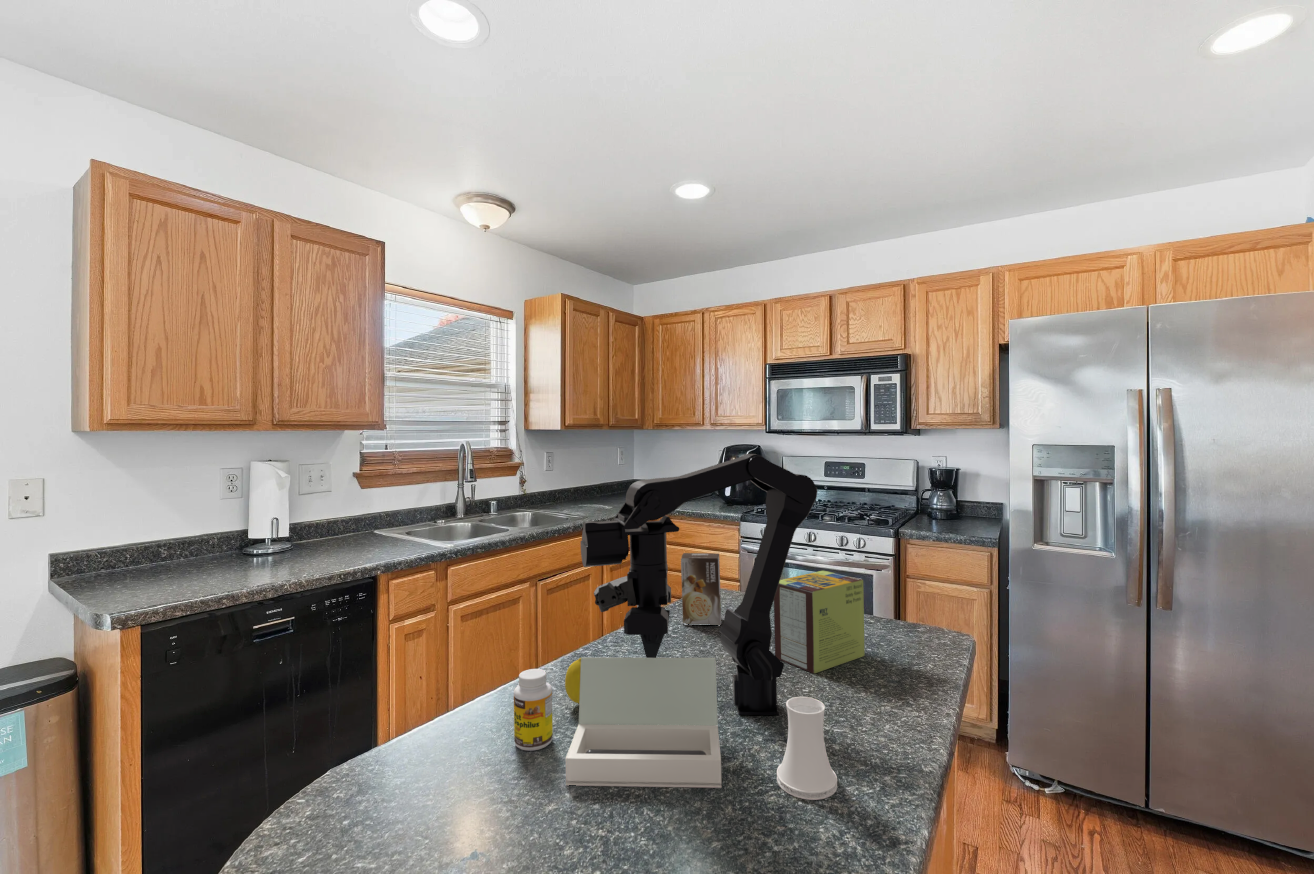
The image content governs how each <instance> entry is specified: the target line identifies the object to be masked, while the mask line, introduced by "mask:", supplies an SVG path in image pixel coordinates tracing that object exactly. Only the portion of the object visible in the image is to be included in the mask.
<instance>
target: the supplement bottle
mask: <svg viewBox="0 0 1314 874" xmlns="http://www.w3.org/2000/svg"><path fill="white" fill-rule="evenodd" d="M547 679H548V678H547V671H545V670H544V669H541V668H530V669H526V670H523V671H521V672H520V673H519V674H518V684H517V686H516V687H515V688H514V690H513V727H514V728H513V730H514V731H513V735H514V736H513V738H514V739H513V740H514V741H513V742H514V745H515V746H516V747H517V748H518V749H519V750H522V751H529V752H530V751H531V752H532V751H538V750H542V749H544V748H546V747H547V746H548V745H550V744H551V742H552V740H553V737H554V735H553V733H554V732H553V730H554V729H553V727H554V725H553V723H554V721H553V687H552V685H551V684H550V683H549V682H547Z"/></svg>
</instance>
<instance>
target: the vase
mask: <svg viewBox="0 0 1314 874" xmlns="http://www.w3.org/2000/svg"><path fill="white" fill-rule="evenodd" d="M785 705H786V711H787V712H786V713H787V724H788V729H787V741H786V742H787V743H786V748H785V753H784V754H783V759H782V761H781V763H780V764H779V765H778V767H777V768H776V782H777V785H778V786H779V787H780V789H782V791H784V792H786V793H787V794H789V795H791V796H792V797H795V798H798V799H802V800H810V801H811V800H814V801H815V800H816V801H817V800H818V801H819V800H823V799H827V798H830V797H831V796H833V795H834V794H835V793H836V792H837V789H838V777H837V774H836V772H835V771H834V770H833V769H832V767H831V764H830V760H829V757H828V754H827V749H826V744H825V736H824V718H825V717H824V716H825V709H826V706H825V704H824V703H823V702H822V701H821V700H818V699H816V698H813V697H809V696H795V697H792V698H789V699H787V700H786V702H785Z"/></svg>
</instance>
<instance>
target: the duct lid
mask: <svg viewBox="0 0 1314 874" xmlns="http://www.w3.org/2000/svg"><path fill="white" fill-rule="evenodd" d="M580 658H581V674H580V701H579V704H578V705H579V706H578V708H579V709H578V724H606V725H719V724H718V723H719V722H718V696H717V695H718V693H717V692H718V691H717V665H716V662H717V661H716V660H717V658H716V657H656V658H646V657H584V656H583V657H580Z"/></svg>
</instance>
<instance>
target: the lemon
mask: <svg viewBox="0 0 1314 874" xmlns="http://www.w3.org/2000/svg"><path fill="white" fill-rule="evenodd" d="M581 658H582V657H579V658H578V659H577V660H574V661H573V662H572V663H571V664H570V665H569V666H568V668H567V670H566V672H565V673H566V674H565V678H564V679H565V680H564V689H565V692H566V695H567V696H568V698H569V700H571V702H574V703H576V704H577V705H579V701H580V674H581Z"/></svg>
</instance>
